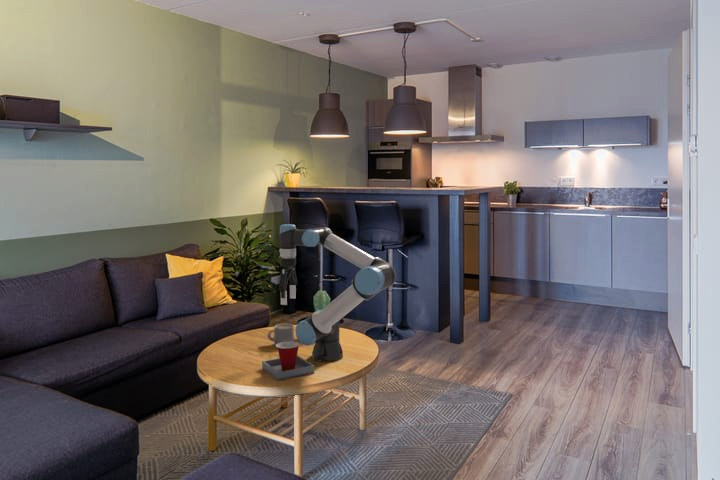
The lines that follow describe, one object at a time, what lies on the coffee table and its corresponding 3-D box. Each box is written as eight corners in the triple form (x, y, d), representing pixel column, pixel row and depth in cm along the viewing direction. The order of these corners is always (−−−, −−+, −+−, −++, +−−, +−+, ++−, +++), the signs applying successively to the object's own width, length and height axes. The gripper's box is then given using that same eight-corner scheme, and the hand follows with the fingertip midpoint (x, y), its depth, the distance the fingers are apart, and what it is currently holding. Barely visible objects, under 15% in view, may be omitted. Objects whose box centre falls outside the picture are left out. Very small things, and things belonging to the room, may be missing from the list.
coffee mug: (296, 342, 294) (296, 324, 293) (291, 348, 284) (290, 329, 283) (271, 341, 296) (271, 322, 295) (265, 346, 286) (265, 327, 285)
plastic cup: (290, 363, 258) (290, 338, 257) (304, 369, 250) (304, 343, 249) (271, 369, 251) (270, 343, 249) (285, 375, 243) (285, 348, 241)
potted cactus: (338, 332, 313) (338, 289, 310) (330, 340, 298) (330, 294, 295) (312, 330, 316) (312, 287, 314) (303, 338, 301) (303, 293, 299)
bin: (296, 362, 263) (296, 354, 262) (314, 373, 248) (314, 365, 248) (262, 368, 253) (262, 361, 253) (278, 380, 239) (278, 372, 238)
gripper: (288, 253, 273) (289, 295, 275) (271, 260, 249) (271, 307, 251) (303, 253, 271) (303, 296, 274) (287, 261, 247) (287, 307, 250)
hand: (288, 301), depth 262 cm, fingers open, 13 cm apart
